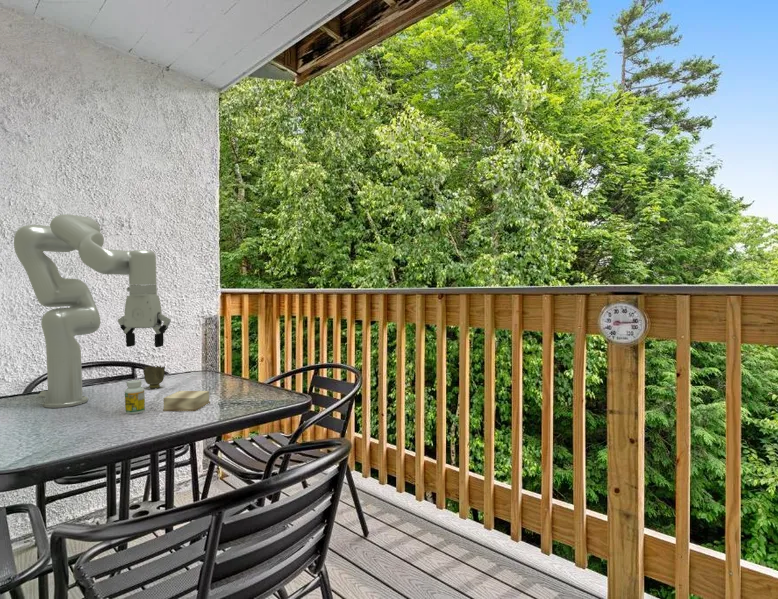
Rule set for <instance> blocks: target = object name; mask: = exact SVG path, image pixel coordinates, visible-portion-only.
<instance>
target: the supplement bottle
mask: <svg viewBox="0 0 778 599" xmlns="http://www.w3.org/2000/svg"><path fill="white" fill-rule="evenodd" d="M142 385H143V384H142V380H139V379H138V380H137V379H135V380H129V381H126V387H127V388H125V390H124V406H125V407H124V408H125V414H127V415H139V414H142V412H143V413H145V410H146V402H145V388H144V387H143V386H142ZM138 413H139V414H138Z"/></svg>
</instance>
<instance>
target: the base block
mask: <svg viewBox="0 0 778 599" xmlns="http://www.w3.org/2000/svg"><path fill="white" fill-rule="evenodd" d="M162 400H163V409H162V411H163V412H197V411H199V410H200V409H202V408H204V407H206V406H207V405H206V404H208V403H209V404H211V401H210V390H178V391H176V392H173V393H172V394H169V395H167V396H164V397H163V399H162ZM209 404H208V405H209ZM205 405H206V406H205ZM203 406H204V407H203ZM201 407H202V408H201ZM198 409H199V410H198ZM196 410H197V411H196Z"/></svg>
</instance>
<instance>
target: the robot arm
mask: <svg viewBox="0 0 778 599" xmlns="http://www.w3.org/2000/svg"><path fill="white" fill-rule="evenodd" d="M13 238H14V239H13V248H14V252H15V254H16V256H17V257H16V258H18V260H19V262H20V264H21V265H22V267H23V269H24V270H25V273H26V275H27V277H28V280H29V282H30V284H31V287H32V290H33V293H34V296H35V297H36V300H37V302H38V304H40V305H41V306H43V307H46V308H47V307H48V308H54V309H51V310H48V311H47V312H45V313H44V314H43V316H42V317H41V323H40V324H41V328H42V332H43V336H44V340H45V348H46V350H45V351H46V354H45V356H46V375H47V390H41V391H40V392H39V393H38V395H37V398H39V399H43V398H44V401H43V402H42V407H44V408H49V409H50V408H51V409H52V408H53V409H55V408H56V409H57V408H68V407H72V406H73V407H74V406H79V405H82V403H83V404H85V403H87V402H88V401H89V397H88V396H86V395H83V374H82V373H83V372H82V371H83V370H82V369H83V368H82V351H81V350H82V349H81V345H80V344H79V343H78V340H76V338H75V336H81V335H89V334H93V333H95V332H97V331H98V330H99V328H100V326H101V315H100V313H99V310H98V307H97V305H96V302H95V300H94V298H93V295H92V293H91V290H90V288H89V286H88V285H87V283H85V282H84V281H83V280H80V279H78V278H66V277H65V278H64V277H62V276H61V274H60V272H59V268H58V266H57V265H56V264H55V262H54V260H52V259H51V258H50V257H49V256H48V255H47V254H45V253H44V252H56V253H70V252H73V251H78V255H79V259H80V260H81V262H82V263H83V264H84V265H86V266H87V267H89V268H90V269H92V270H93V271H95V272H98V273H100V274H101V275H118V276H119V275H121V276H127V275H128V285H129V286H127V288H126V291H127V292H129V295H127V296H126V299H125V303H124V304H125V305H124V315H123V316H121V317H120V318H117V322H118V324H119V327H120V329H121V330H122V331H123V334H125V344H126V347H127V348H128V347H135V345H136V334H135V332H134V331H135V329H153V331H154V332H155V334H154V347H155V348H160V347H161V348H162V347H163V346H164V334H165V333H166V331H167V330H168V329H169V326H170V323H171V318H169V317H168V316H165V315H163V314H162V304H161V299H160V296H159V294H158V288H157V257H156V253H155V252H154V251H152V250H147V249H146V250H144V249H143V250H142V249H140V250H136V249H135V250H123V249H121V250H120V249H108V248H107V249H106V248H104V243H105V239H104V236H103V234H102V232H101V227H100V225H99V223H98V222H97V221H96V220H95V219H93V218H92V217H88V216H82V215H76V214H75V215H73V214H60V215H57V216H55V217H53V218H52V220H50V224H49V225H41V224H40V225H39V224H29V225H24V226H21V227H19V228H18V230H17V231H16V232H15V233H14V237H13ZM162 323H163V324H162Z"/></svg>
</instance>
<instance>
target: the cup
mask: <svg viewBox="0 0 778 599" xmlns="http://www.w3.org/2000/svg"><path fill="white" fill-rule="evenodd" d="M165 369H166V367H165V365H163V366H161V365H157V366H155V365H154V366H153V367H152V366H150V365H149V366H145V368H144V367H143V368H142V371H143V378H144V381H145V383H146V384H148V388H149V389H151V390H155V388H157V389H160V387H161V385H160V384H161V383H162V382H163V381H164V377H165V371H166V370H165Z"/></svg>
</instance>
